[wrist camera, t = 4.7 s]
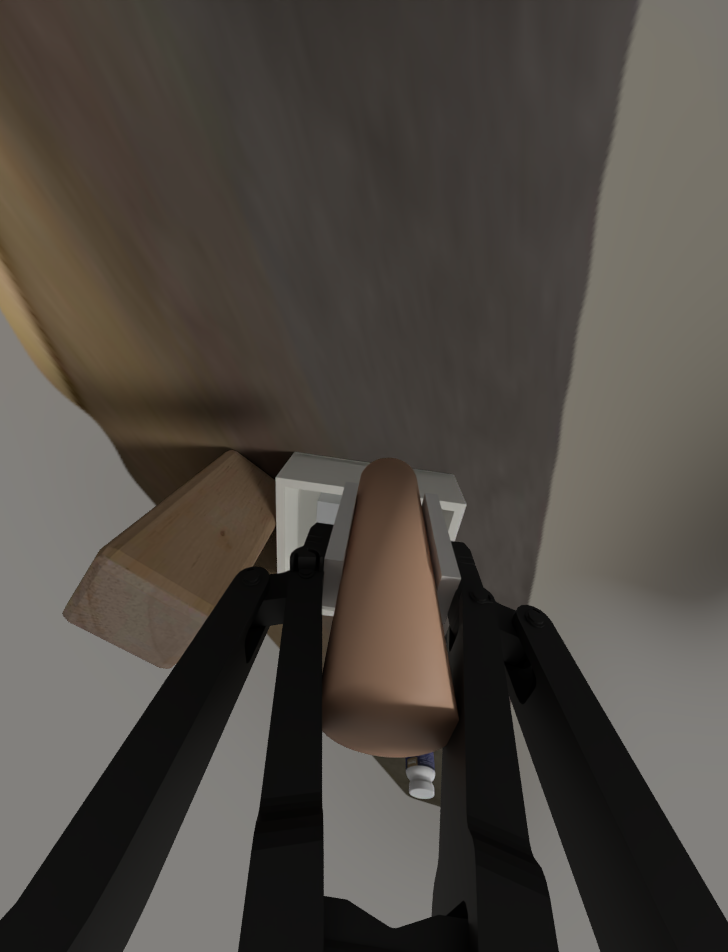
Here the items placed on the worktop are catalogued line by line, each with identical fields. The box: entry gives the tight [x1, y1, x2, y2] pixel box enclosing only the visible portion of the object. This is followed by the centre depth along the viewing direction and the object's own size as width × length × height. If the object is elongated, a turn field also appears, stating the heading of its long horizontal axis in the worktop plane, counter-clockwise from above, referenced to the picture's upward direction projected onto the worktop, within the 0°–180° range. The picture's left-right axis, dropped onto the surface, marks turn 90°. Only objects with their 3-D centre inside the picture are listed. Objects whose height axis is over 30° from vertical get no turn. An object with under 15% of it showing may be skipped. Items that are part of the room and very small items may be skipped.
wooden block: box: [62, 450, 276, 669], centre depth 32 cm, size 10×10×20 cm
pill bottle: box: [406, 752, 435, 799], centre depth 61 cm, size 6×6×10 cm
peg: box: [322, 458, 459, 757], centre depth 15 cm, size 4×4×14 cm
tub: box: [276, 452, 467, 616], centre depth 39 cm, size 20×20×7 cm
